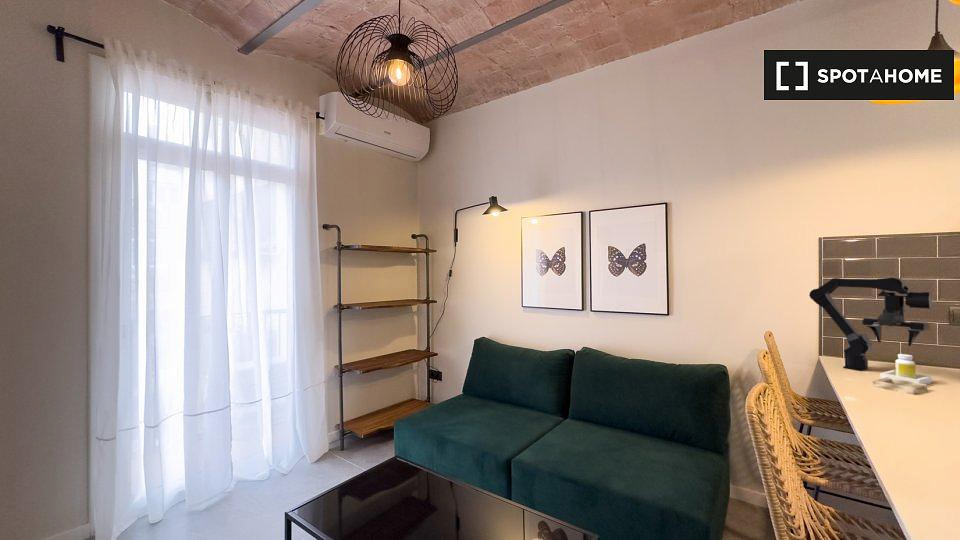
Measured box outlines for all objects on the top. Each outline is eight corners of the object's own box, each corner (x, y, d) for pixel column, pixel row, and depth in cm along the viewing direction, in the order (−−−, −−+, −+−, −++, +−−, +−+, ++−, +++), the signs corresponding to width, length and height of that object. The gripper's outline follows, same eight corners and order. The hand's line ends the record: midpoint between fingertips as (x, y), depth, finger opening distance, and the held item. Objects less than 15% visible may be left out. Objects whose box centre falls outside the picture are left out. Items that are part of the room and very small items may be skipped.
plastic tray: (880, 379, 158) (880, 373, 158) (893, 375, 162) (893, 369, 162) (919, 386, 148) (919, 380, 148) (932, 382, 152) (931, 376, 152)
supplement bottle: (919, 381, 152) (919, 356, 152) (902, 381, 153) (902, 356, 153) (908, 377, 157) (907, 353, 157) (891, 377, 159) (891, 353, 158)
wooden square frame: (872, 386, 150) (872, 381, 150) (886, 382, 154) (886, 377, 154) (913, 394, 140) (913, 389, 140) (927, 390, 144) (927, 384, 144)
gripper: (855, 306, 169) (855, 342, 169) (917, 310, 152) (917, 350, 152) (868, 304, 173) (868, 339, 174) (929, 308, 156) (930, 347, 156)
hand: (894, 344), depth 164 cm, fingers open, 9 cm apart
